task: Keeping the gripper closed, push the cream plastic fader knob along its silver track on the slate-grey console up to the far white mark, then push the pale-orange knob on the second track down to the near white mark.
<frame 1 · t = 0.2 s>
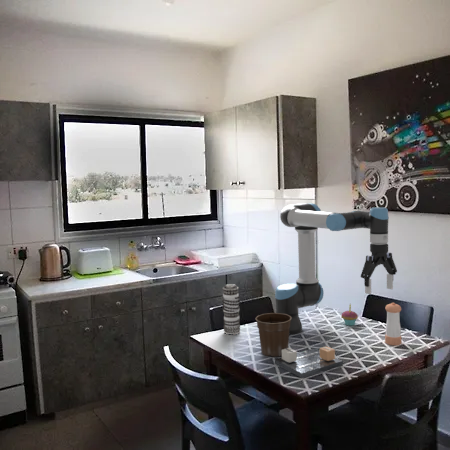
hand: (379, 291, 212), 28 cm above the table, fingers open, 13 cm apart
console: (308, 364, 205), on the table
decorative candle: (232, 332, 250), on the table
cupcake: (349, 324, 257), on the table
fader b: (327, 353, 205), point 5 cm above the table, slide at 7.0 cm
pepper shaker: (393, 343, 227), on the table
fader a: (289, 354, 204), point 5 cm above the table, slide at -7.0 cm
plant pot: (274, 352, 221), on the table
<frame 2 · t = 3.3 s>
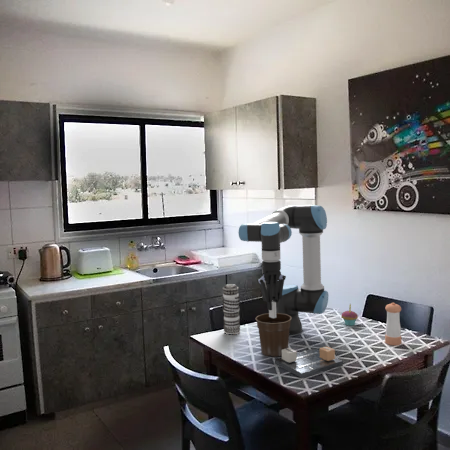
hand: (272, 317, 198), 22 cm above the table, fingers closed
nothing on the table moved.
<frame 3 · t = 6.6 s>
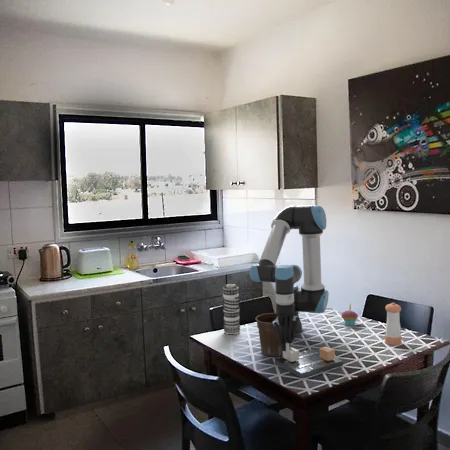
hand: (286, 357, 204), 4 cm above the table, fingers closed
fader a: (291, 354, 205), point 5 cm above the table, slide at -5.7 cm, touching gripper
everything else where it was.
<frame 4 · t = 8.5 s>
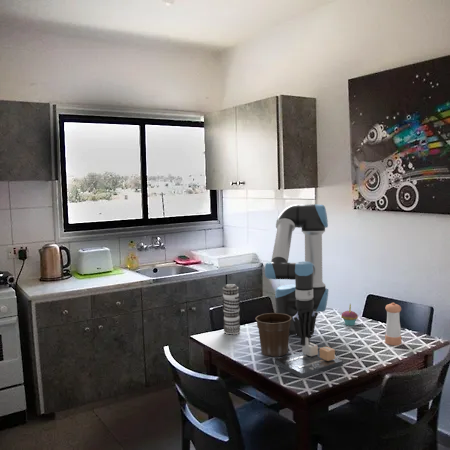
hand: (305, 351, 209), 4 cm above the table, fingers closed
fader a: (310, 348, 210), point 5 cm above the table, slide at 4.7 cm, touching gripper
everything else where it was.
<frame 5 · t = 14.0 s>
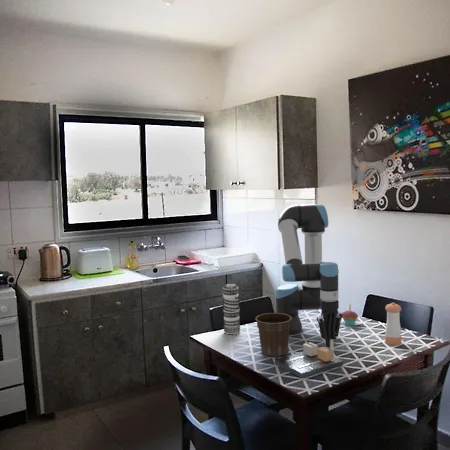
hand: (330, 353, 205), 4 cm above the table, fingers closed
fader b: (325, 353, 204), point 5 cm above the table, slide at 5.9 cm, touching gripper
fader a: (310, 348, 210), point 5 cm above the table, slide at 4.7 cm
everything else where it was.
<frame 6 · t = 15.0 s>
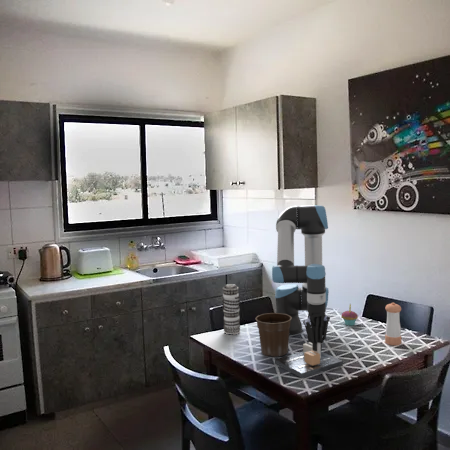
hand: (317, 357, 202), 4 cm above the table, fingers closed
fader b: (312, 357, 200), point 5 cm above the table, slide at -1.3 cm, touching gripper
everything else where it was.
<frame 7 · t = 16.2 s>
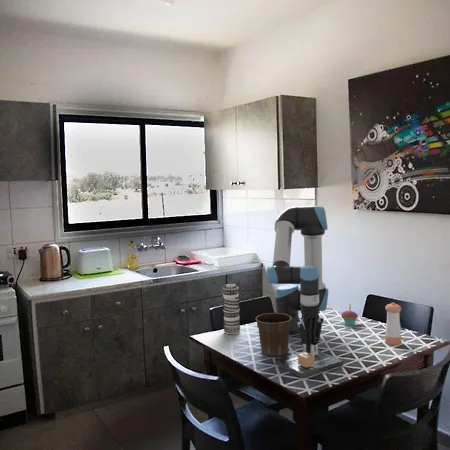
hand: (310, 359, 200), 4 cm above the table, fingers closed
fader b: (305, 359, 199), point 5 cm above the table, slide at -4.7 cm, touching gripper
everything else where it was.
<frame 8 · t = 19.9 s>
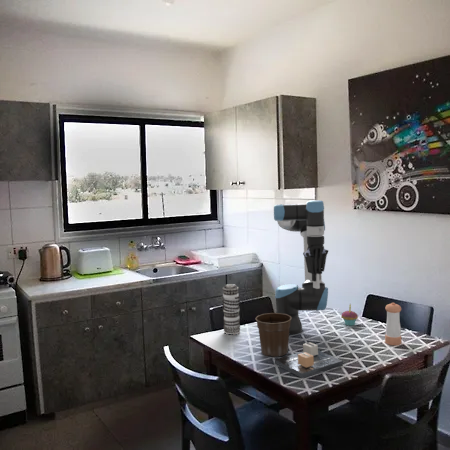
hand: (316, 287, 216), 29 cm above the table, fingers closed
fader b: (305, 359, 199), point 5 cm above the table, slide at -4.7 cm
everything else where it was.
at the end: fader a slide at 4.7 cm; fader b slide at -4.7 cm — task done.
